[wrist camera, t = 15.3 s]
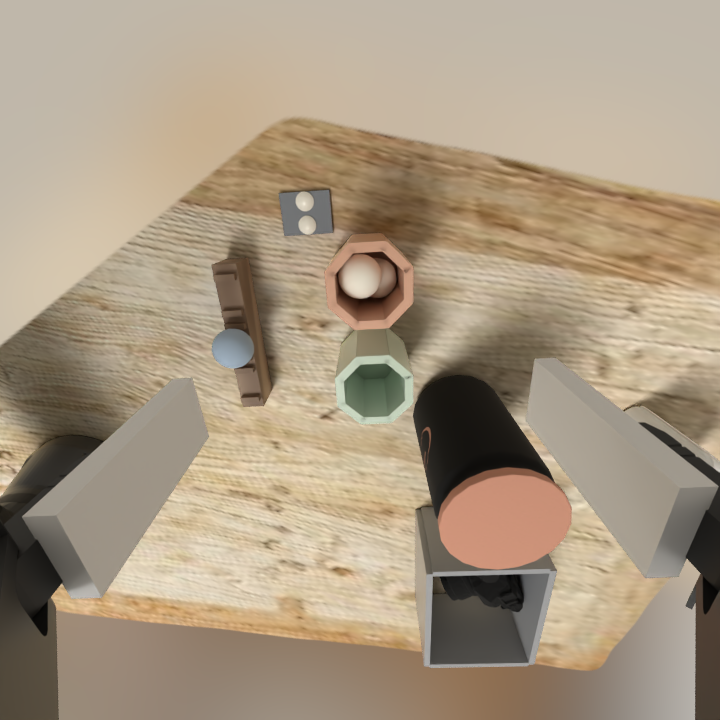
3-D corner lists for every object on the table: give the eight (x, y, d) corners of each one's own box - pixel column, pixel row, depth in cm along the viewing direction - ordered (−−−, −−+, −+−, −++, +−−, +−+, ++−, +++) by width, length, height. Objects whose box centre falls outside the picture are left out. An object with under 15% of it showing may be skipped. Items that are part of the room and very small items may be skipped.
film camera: (416, 528, 54) (425, 586, 46) (474, 502, 52) (495, 559, 43) (460, 583, 59) (476, 645, 51) (515, 563, 57) (541, 623, 48)
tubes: (305, 385, 44) (292, 427, 36) (279, 193, 35) (253, 189, 27) (404, 380, 43) (413, 422, 35) (401, 185, 35) (413, 179, 27)
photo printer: (678, 445, 47) (778, 522, 36) (648, 464, 48) (735, 543, 37) (640, 398, 44) (735, 465, 33) (609, 418, 45) (690, 490, 34)
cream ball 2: (352, 291, 38) (366, 308, 35) (350, 255, 36) (367, 270, 33) (385, 285, 39) (402, 300, 36) (386, 249, 37) (405, 263, 34)
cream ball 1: (353, 300, 35) (328, 296, 32) (355, 259, 35) (329, 251, 32) (388, 300, 33) (365, 296, 30) (390, 256, 33) (367, 248, 29)
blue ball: (225, 359, 38) (210, 375, 35) (217, 324, 37) (200, 337, 33) (261, 357, 38) (250, 374, 34) (255, 322, 36) (242, 335, 33)
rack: (253, 390, 44) (241, 409, 40) (226, 259, 38) (208, 266, 34) (272, 389, 44) (262, 408, 40) (248, 257, 38) (233, 264, 34)
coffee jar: (400, 387, 44) (422, 496, 27) (485, 358, 42) (562, 457, 26) (426, 452, 48) (457, 582, 31) (504, 428, 46) (581, 553, 30)
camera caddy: (415, 597, 60) (424, 667, 51) (415, 507, 52) (426, 572, 43) (507, 595, 60) (533, 665, 50) (523, 503, 51) (557, 568, 42)
